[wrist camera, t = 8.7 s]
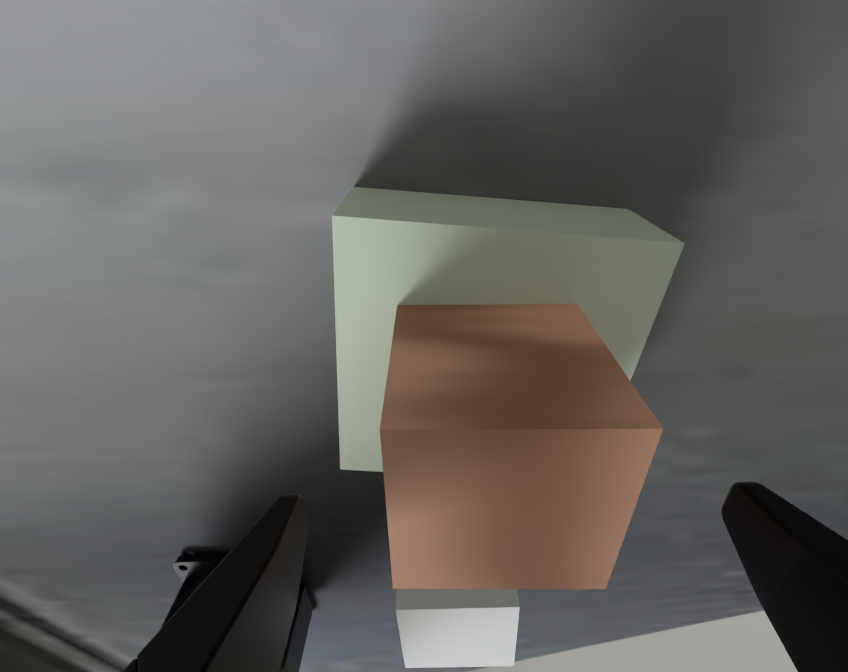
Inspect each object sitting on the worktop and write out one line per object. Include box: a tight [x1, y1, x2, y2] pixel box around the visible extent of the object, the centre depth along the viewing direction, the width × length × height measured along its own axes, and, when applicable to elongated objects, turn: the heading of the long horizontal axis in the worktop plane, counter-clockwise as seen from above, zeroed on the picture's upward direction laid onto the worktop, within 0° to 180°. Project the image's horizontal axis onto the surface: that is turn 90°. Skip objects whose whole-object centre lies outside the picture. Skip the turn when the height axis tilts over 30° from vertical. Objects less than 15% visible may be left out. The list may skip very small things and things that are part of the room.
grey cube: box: [396, 589, 520, 668], centre depth 21 cm, size 5×5×5 cm
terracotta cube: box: [380, 304, 663, 589], centre depth 11 cm, size 5×5×5 cm
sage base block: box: [332, 187, 685, 472], centre depth 15 cm, size 9×9×4 cm
